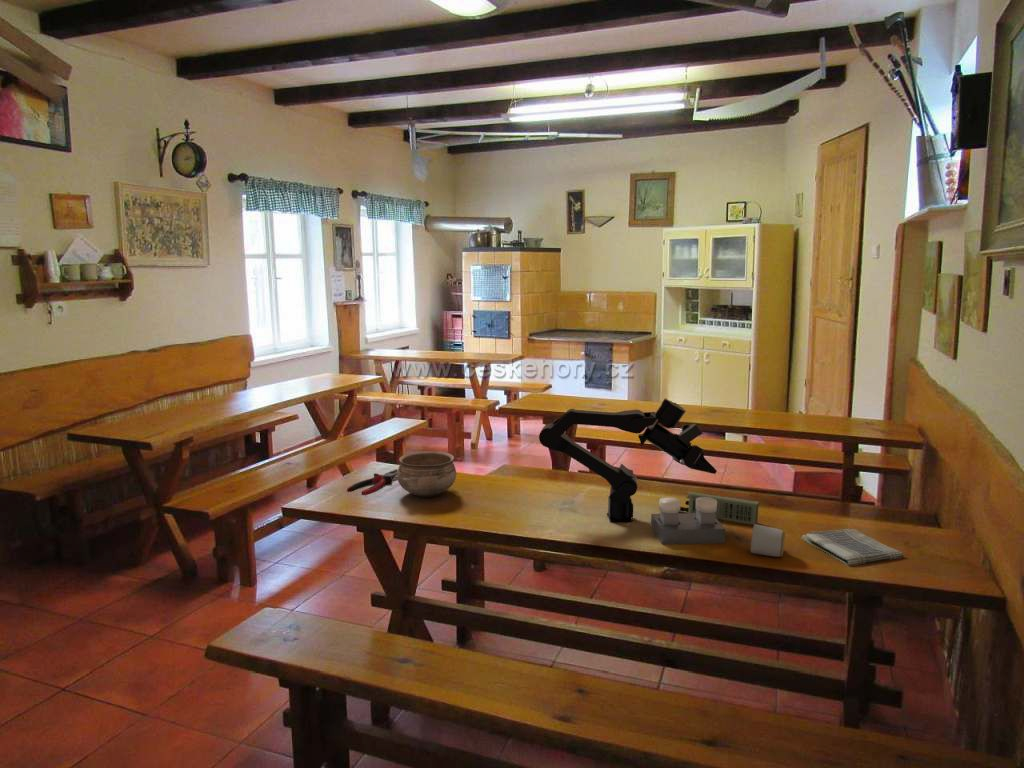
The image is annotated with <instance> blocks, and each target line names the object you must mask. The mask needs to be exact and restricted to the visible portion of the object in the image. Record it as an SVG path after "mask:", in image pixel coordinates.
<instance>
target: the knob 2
mask: <svg viewBox="0 0 1024 768" xmlns="http://www.w3.org/2000/svg"><path fill="white" fill-rule="evenodd" d="M695 509H696V521H697V522H698V523H699V524H715V515H716V511H717V500H715V499H713V498H709V497H699V498H697V499H696V506H695Z"/></svg>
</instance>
